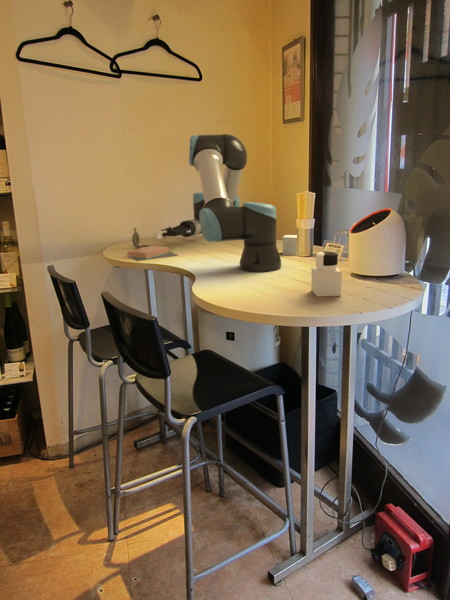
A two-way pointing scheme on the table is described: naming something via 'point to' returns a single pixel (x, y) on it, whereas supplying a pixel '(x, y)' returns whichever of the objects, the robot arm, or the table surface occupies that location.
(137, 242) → the pocket watch
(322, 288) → the medicine bottle
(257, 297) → the table surface
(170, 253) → the mat
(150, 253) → the tile
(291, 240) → the product box
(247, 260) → the robot arm
